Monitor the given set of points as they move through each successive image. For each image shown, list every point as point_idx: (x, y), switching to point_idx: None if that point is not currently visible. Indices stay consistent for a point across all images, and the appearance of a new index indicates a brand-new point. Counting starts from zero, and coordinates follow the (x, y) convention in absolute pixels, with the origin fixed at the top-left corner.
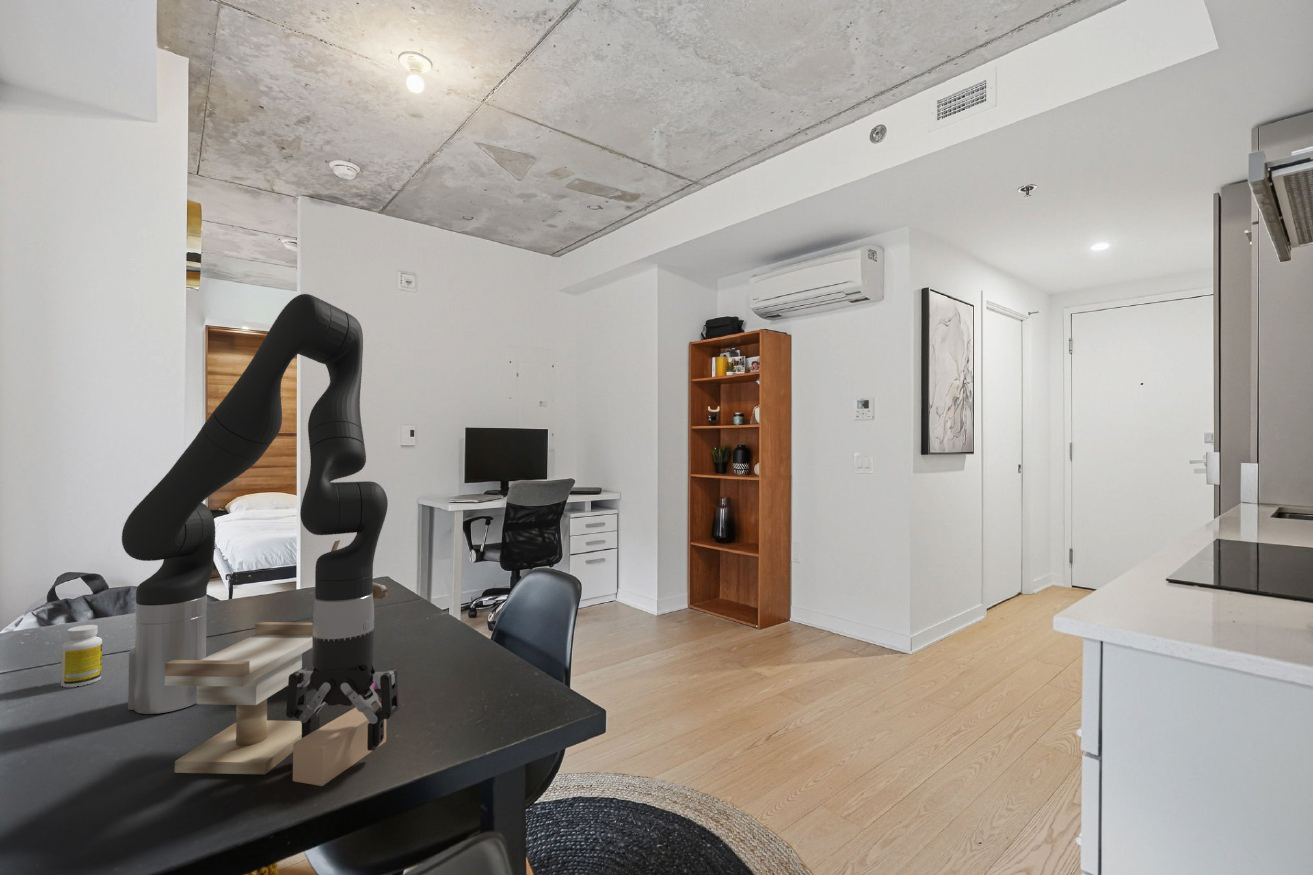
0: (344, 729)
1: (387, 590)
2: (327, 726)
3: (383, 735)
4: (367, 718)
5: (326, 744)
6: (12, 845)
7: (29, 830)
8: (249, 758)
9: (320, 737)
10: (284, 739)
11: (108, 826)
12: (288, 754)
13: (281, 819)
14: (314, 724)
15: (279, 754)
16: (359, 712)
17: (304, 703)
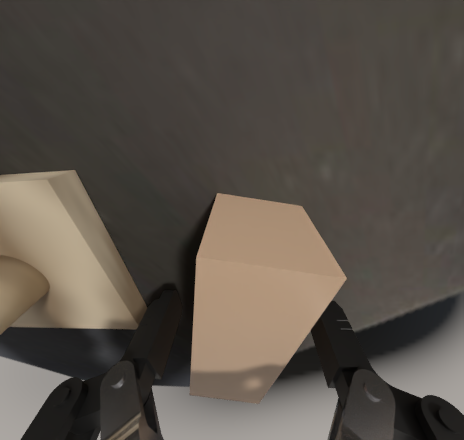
0: (260, 371)
1: None
2: (205, 363)
3: (344, 316)
4: (335, 413)
5: (258, 398)
6: (60, 373)
7: (43, 365)
8: (102, 322)
9: (227, 387)
10: (82, 272)
11: (97, 364)
12: (127, 271)
13: None
14: (160, 354)
15: (129, 301)
16: (243, 309)
17: (72, 419)
